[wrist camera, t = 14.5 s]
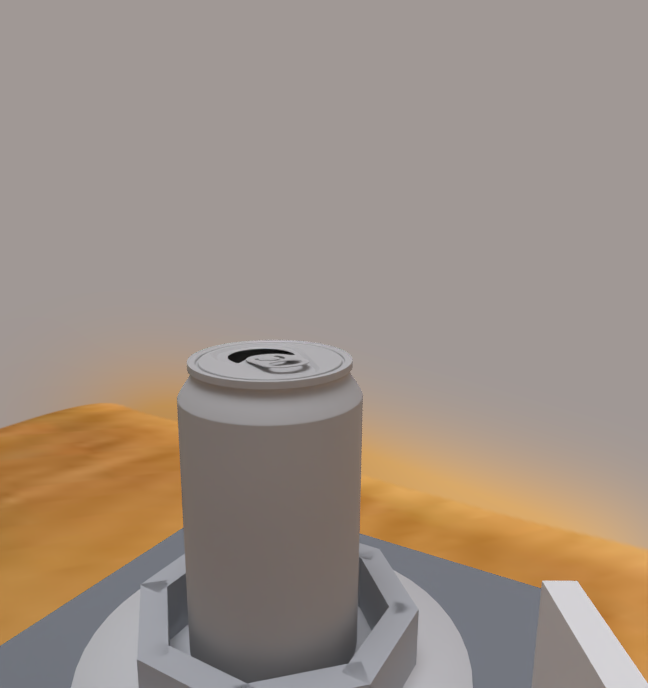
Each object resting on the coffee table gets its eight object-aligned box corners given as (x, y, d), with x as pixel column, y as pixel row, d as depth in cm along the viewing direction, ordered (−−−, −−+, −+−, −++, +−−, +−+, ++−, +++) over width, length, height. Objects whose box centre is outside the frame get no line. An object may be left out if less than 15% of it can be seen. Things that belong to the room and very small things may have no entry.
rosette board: (-137, 767, 20) (-158, 666, 19) (234, 513, 37) (232, 452, 36) (427, 1292, 10) (439, 1137, 10) (580, 624, 27) (590, 545, 27)
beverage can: (302, 584, 28) (302, 328, 25) (391, 673, 22) (402, 362, 20) (167, 635, 24) (149, 347, 21) (233, 755, 19) (221, 393, 16)
